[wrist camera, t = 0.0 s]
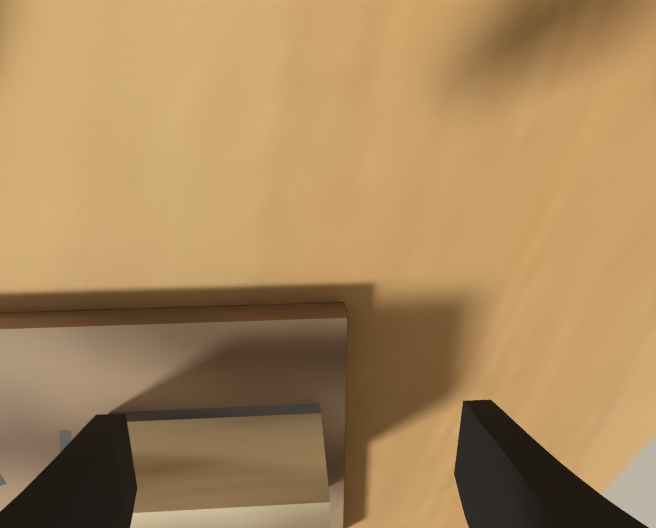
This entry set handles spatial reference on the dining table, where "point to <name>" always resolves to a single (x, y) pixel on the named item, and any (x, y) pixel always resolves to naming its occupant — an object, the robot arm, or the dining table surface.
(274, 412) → the block
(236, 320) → the plank
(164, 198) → the dining table surface
